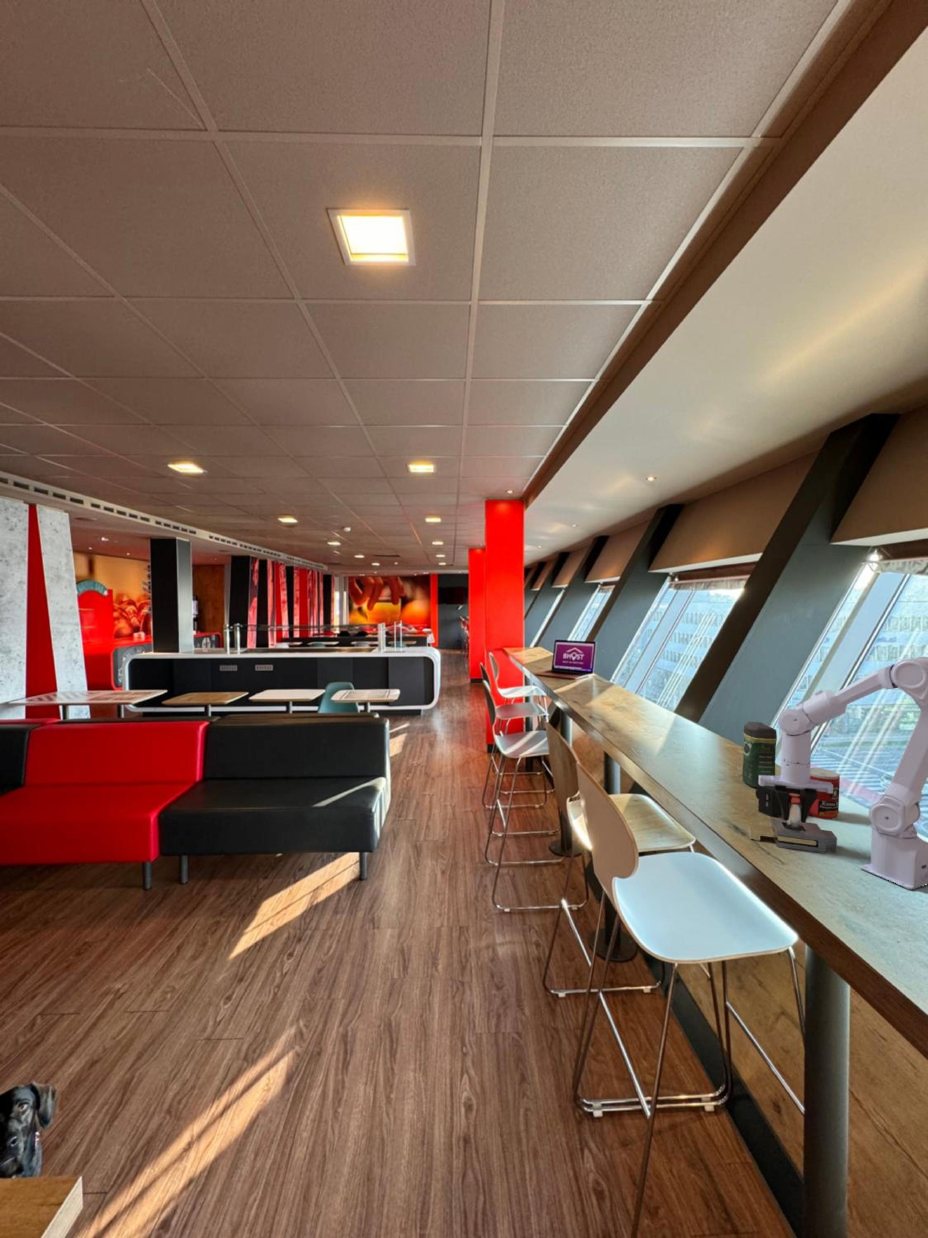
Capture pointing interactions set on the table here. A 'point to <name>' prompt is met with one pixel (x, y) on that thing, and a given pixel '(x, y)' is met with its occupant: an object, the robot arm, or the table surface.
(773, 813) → the digital camera
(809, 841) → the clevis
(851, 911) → the table surface
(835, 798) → the canned food
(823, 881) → the table surface
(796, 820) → the clear red-capped cylinder
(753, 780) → the coffee jar
